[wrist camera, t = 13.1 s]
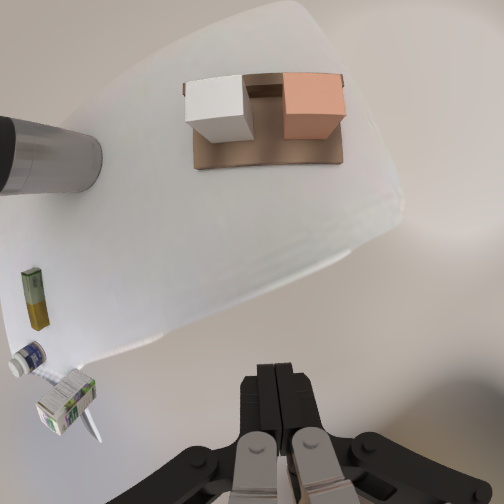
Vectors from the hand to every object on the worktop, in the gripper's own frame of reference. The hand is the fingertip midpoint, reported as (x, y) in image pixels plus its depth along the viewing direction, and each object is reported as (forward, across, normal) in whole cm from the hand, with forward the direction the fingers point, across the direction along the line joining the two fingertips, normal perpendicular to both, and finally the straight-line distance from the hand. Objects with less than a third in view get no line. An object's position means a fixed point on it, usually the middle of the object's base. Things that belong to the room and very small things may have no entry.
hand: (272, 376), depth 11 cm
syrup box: (+24, +36, +30) cm, 53 cm away
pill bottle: (+27, +50, +26) cm, 62 cm away
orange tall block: (+23, -6, -14) cm, 28 cm away
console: (+26, -2, -13) cm, 29 cm away
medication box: (+28, +42, +12) cm, 52 cm away
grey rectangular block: (+24, +2, -13) cm, 28 cm away
